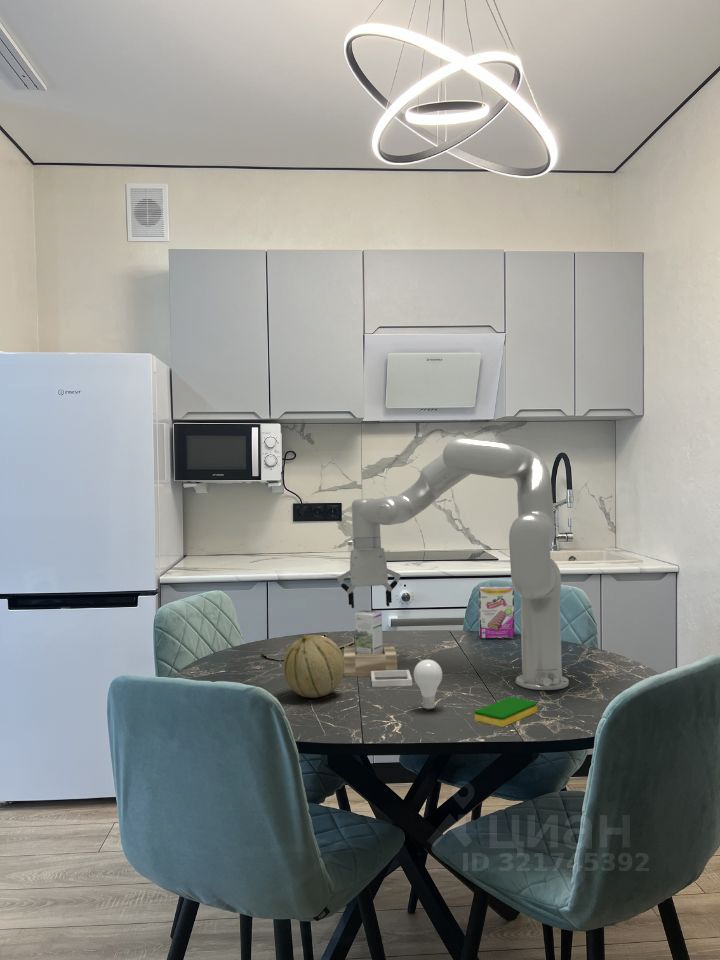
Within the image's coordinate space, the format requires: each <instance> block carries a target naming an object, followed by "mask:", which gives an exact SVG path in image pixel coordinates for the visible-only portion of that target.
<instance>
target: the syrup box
mask: <svg viewBox="0 0 720 960" xmlns="http://www.w3.org/2000/svg"><path fill="white" fill-rule="evenodd" d="M354 643H355V645H354V646H356V655H359V654H383V645H384V644H383V614H382V611H381V610H380V611H378V610H376V611H375V610H366V609H365V610H359V611H357V612H355V613H354Z"/></svg>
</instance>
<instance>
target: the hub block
mask: <svg viewBox="0 0 720 960" xmlns="http://www.w3.org/2000/svg"><path fill="white" fill-rule="evenodd" d="M382 645H383V654H359V655H356V646H355V645H350V646H344V648H343V657H344V662H345V669H344V675H343V677H344V676H345V677H368V676H369V677H371V671H387V670H398V656H397V651H396V647H395V645H394V644H382Z"/></svg>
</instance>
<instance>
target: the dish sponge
mask: <svg viewBox="0 0 720 960" xmlns="http://www.w3.org/2000/svg"><path fill="white" fill-rule="evenodd" d="M535 713H538V703H537V702H535V701H532V700H527V699H522V698H516V697H511V696H510V697H507V698H504V699H501V700H499V701H495V702H494V703H491V704H489V705H487V706H484V707H481V708H479V709H476V710H474V720H475V722H479V723H484V724H488V725H492V726H496V727H500V728H504V727H506V726H508V725H510V724H514V723H516V722H518V721H520V720H522V719H524V718H527V717H529V716H530V715H533V714H535Z"/></svg>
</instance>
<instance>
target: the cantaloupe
mask: <svg viewBox="0 0 720 960" xmlns="http://www.w3.org/2000/svg"><path fill="white" fill-rule="evenodd" d="M321 635H322V634H310V635H304V636H302V637H301V638H298V639H299V640H297V639H296V640H297V641H295V642H294V643H293V644H292V645H291V646H290V647H288V649H287V650H286V653H285V654H284V661H282V672H283V677H284V680H285V681H286V684H287V685H288V686H289V688H290V689H291V690H292V691H293V692H295V693H296V694H298V695H299V696H301V697H305V698H311V699H315V698H321V697H324V696H326V695H329V694H331V693H332V692H334V691H335V690H336V689H337V688H338V687H339V685H340V683H341V682H342V679H343V678H344V669H345V662H344V653H342V651H341V650H342V649H339V646H338V645H337V644H336V642H334V640H333V639H329V638H327V637H324V636H321Z"/></svg>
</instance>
